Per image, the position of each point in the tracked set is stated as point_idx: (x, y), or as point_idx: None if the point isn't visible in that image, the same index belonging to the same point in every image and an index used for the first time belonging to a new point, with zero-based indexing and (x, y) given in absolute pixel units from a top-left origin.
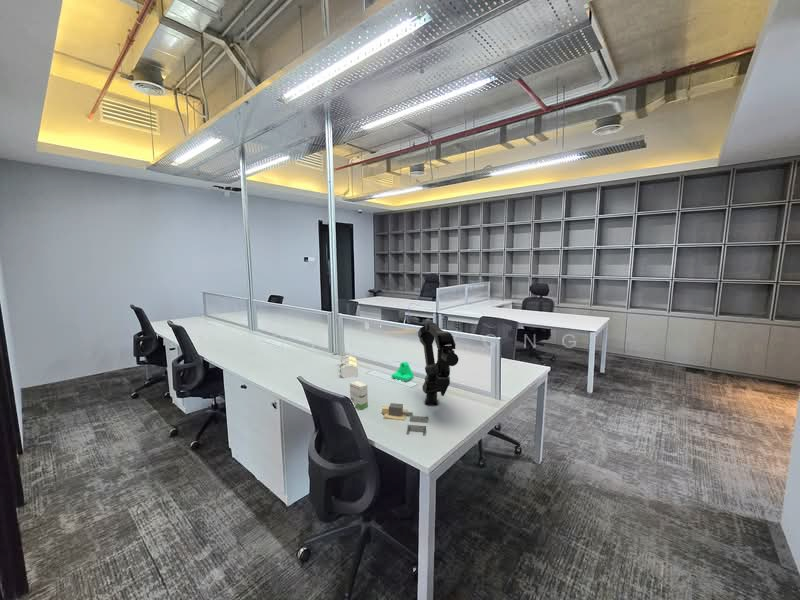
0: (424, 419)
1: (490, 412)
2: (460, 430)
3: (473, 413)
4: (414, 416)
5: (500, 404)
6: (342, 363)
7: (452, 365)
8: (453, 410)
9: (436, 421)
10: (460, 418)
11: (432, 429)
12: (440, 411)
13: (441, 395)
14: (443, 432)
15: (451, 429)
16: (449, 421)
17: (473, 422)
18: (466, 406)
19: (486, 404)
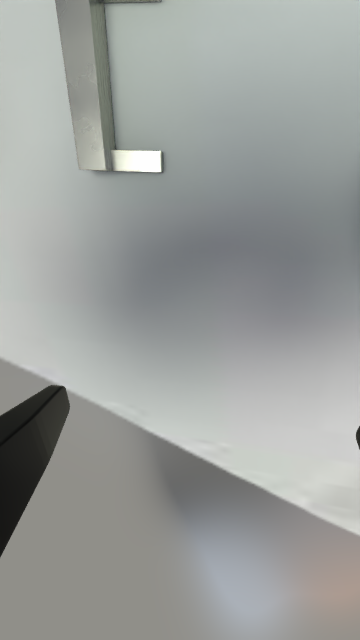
0: (79, 140)
1: (263, 479)
2: (67, 357)
3: (252, 426)
4: (76, 7)
5: (340, 518)
6: None
7: None
8: (291, 346)
9: (128, 238)
10: (191, 370)
11: (18, 213)
12: (280, 267)
13: (50, 386)
14: (14, 279)
15: (61, 320)
16: (146, 315)
17: (159, 413)
18: (340, 411)
19: (349, 483)
